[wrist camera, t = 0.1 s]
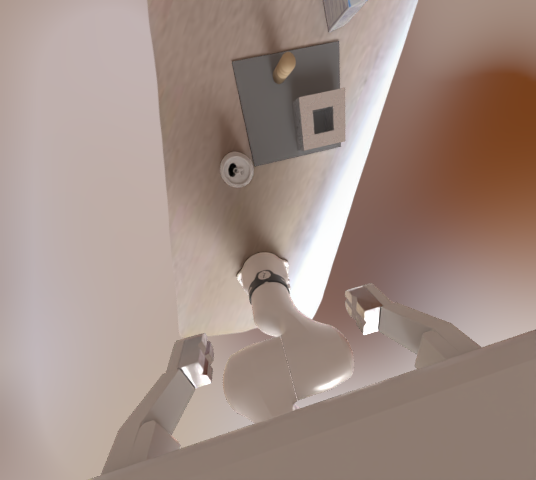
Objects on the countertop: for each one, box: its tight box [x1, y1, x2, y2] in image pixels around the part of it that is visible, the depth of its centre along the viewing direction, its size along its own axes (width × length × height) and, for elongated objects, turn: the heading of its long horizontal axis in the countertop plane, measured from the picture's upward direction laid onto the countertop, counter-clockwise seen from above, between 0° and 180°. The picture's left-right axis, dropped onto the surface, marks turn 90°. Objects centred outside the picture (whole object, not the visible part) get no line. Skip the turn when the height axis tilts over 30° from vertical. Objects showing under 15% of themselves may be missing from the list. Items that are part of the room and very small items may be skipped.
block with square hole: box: [292, 88, 345, 151], centre depth 47 cm, size 11×11×5 cm
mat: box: [232, 41, 341, 166], centre depth 47 cm, size 22×25×1 cm
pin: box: [273, 52, 296, 84], centre depth 40 cm, size 3×3×8 cm
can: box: [220, 152, 254, 188], centre depth 46 cm, size 8×8×12 cm
